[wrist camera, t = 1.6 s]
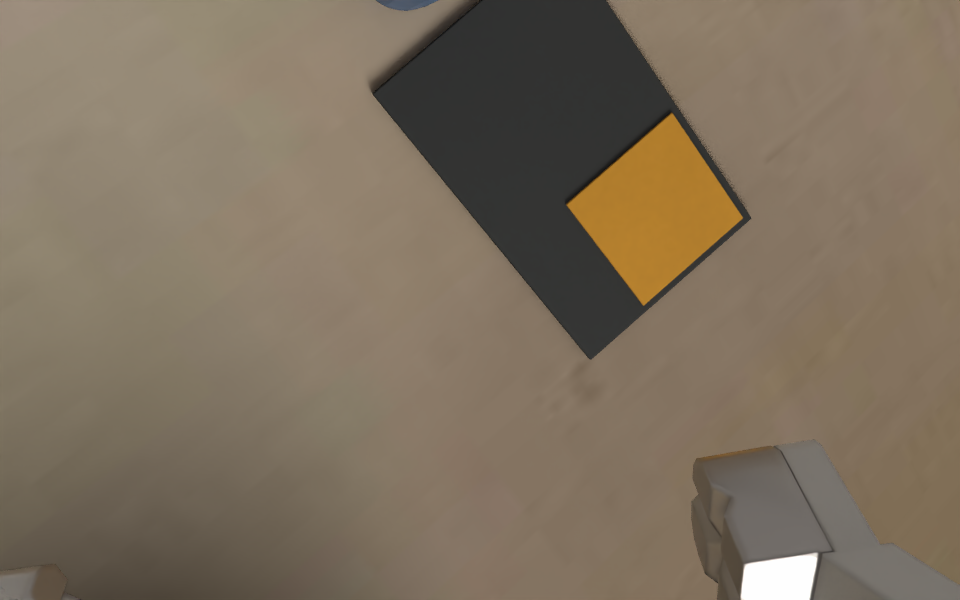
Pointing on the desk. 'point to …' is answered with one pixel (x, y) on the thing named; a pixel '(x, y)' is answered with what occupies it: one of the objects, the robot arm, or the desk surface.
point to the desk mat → (566, 157)
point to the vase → (406, 4)
